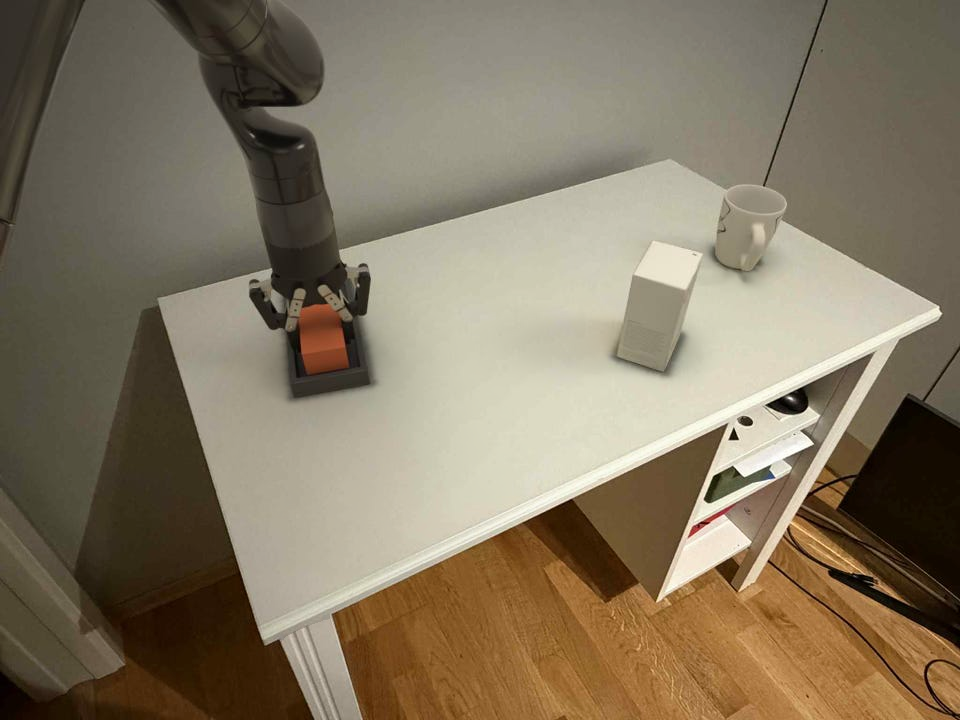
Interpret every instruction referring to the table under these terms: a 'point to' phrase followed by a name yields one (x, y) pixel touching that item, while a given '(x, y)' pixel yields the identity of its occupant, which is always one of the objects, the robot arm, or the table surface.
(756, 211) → the mug
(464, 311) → the table surface
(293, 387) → the frame
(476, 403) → the table surface
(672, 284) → the small box
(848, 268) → the table surface
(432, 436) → the table surface
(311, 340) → the orange block
